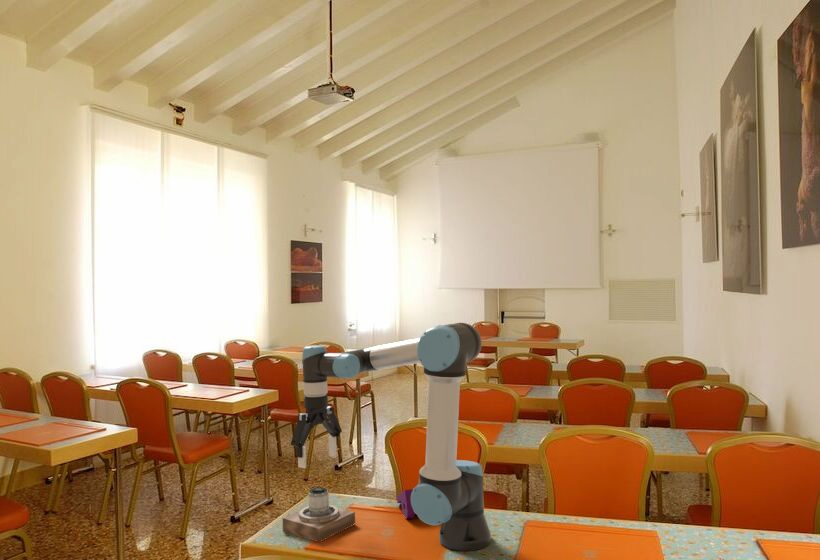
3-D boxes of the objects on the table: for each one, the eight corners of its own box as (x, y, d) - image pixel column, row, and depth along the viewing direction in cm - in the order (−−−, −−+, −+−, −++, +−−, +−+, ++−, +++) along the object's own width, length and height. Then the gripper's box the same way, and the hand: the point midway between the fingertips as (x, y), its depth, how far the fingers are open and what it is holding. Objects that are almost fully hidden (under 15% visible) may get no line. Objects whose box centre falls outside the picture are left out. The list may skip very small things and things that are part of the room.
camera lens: (312, 510, 203) (311, 485, 203) (331, 510, 202) (330, 485, 202) (306, 517, 196) (305, 492, 196) (326, 517, 196) (325, 492, 196)
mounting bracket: (397, 523, 216) (408, 517, 200) (393, 498, 219) (404, 490, 204) (423, 520, 218) (436, 513, 203) (420, 494, 222) (432, 486, 206)
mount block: (355, 524, 201) (354, 508, 201) (319, 542, 188) (318, 524, 188) (319, 514, 210) (318, 499, 210) (282, 530, 197) (282, 514, 197)
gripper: (334, 387, 212) (336, 451, 211) (277, 400, 191) (279, 470, 191) (350, 389, 207) (353, 453, 207) (294, 402, 187) (297, 474, 187)
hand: (318, 462), depth 199 cm, fingers open, 13 cm apart
